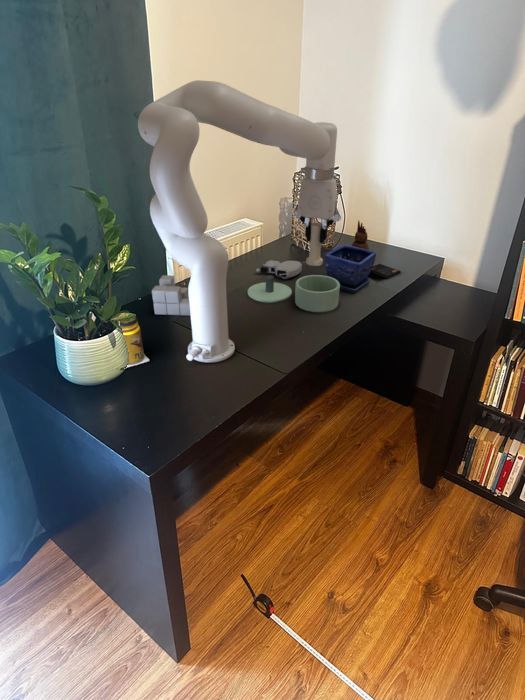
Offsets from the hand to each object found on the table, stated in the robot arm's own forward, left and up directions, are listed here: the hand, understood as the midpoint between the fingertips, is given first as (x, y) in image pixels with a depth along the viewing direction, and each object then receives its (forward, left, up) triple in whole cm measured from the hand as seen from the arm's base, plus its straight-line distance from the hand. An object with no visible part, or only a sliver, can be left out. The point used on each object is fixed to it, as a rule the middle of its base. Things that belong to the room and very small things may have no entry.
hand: (315, 240), depth 141 cm
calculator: (+38, -14, -23) cm, 46 cm away
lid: (+7, +17, -22) cm, 29 cm away
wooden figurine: (+48, -4, -23) cm, 53 cm away
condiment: (-44, +36, -23) cm, 62 cm away
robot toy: (+24, +19, -23) cm, 38 cm away
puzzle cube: (-12, +40, -23) cm, 48 cm away
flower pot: (+23, -6, -23) cm, 33 cm away
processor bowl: (+6, 0, -23) cm, 24 cm away
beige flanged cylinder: (0, 0, -7) cm, 7 cm away
